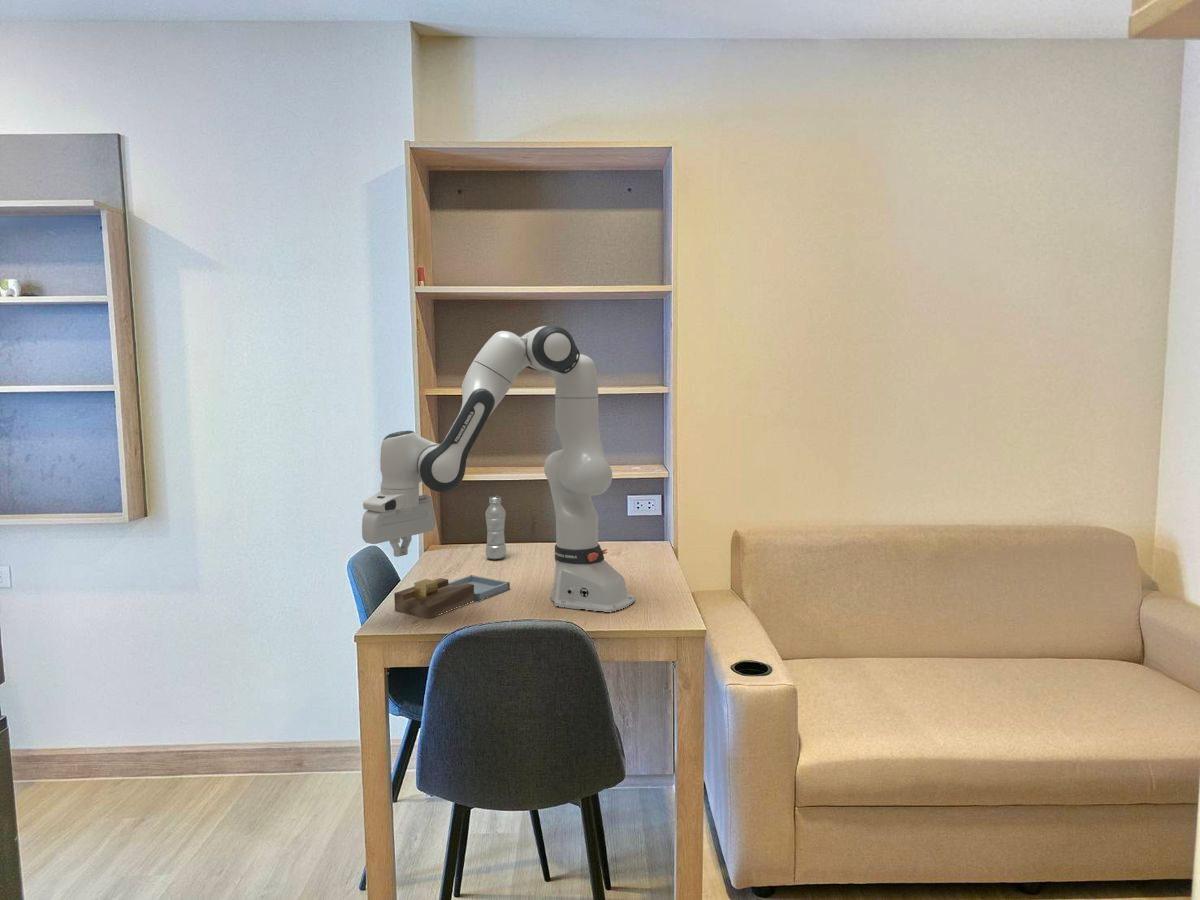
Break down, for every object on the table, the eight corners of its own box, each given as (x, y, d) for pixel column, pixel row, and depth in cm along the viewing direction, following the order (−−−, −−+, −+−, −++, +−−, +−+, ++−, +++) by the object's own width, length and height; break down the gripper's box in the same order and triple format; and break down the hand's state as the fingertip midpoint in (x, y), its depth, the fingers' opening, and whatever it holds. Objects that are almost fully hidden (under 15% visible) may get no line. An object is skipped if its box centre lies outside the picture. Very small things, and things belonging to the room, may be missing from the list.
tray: (509, 589, 204) (509, 582, 203) (477, 601, 193) (477, 594, 192) (471, 581, 211) (471, 574, 211) (438, 593, 200) (438, 586, 200)
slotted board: (474, 601, 193) (473, 584, 192) (429, 618, 179) (428, 600, 179) (440, 594, 199) (440, 577, 199) (394, 610, 186) (394, 593, 185)
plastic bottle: (481, 559, 236) (480, 497, 234) (495, 555, 241) (494, 494, 239) (496, 562, 232) (495, 499, 230) (510, 558, 238) (509, 496, 236)
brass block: (437, 596, 187) (437, 581, 187) (426, 600, 184) (425, 585, 183) (426, 594, 189) (426, 579, 189) (414, 598, 186) (414, 582, 186)
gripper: (422, 492, 188) (423, 545, 189) (357, 503, 171) (358, 562, 172) (440, 494, 184) (441, 549, 186) (375, 506, 167) (376, 566, 169)
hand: (400, 555), depth 179 cm, fingers closed
